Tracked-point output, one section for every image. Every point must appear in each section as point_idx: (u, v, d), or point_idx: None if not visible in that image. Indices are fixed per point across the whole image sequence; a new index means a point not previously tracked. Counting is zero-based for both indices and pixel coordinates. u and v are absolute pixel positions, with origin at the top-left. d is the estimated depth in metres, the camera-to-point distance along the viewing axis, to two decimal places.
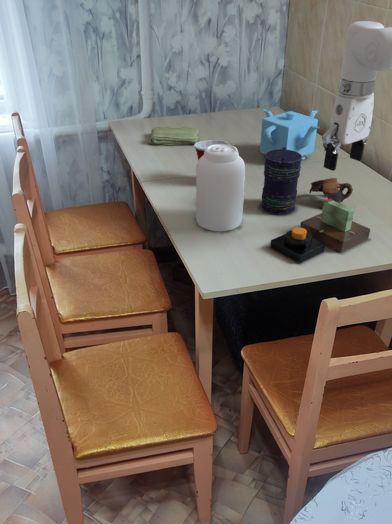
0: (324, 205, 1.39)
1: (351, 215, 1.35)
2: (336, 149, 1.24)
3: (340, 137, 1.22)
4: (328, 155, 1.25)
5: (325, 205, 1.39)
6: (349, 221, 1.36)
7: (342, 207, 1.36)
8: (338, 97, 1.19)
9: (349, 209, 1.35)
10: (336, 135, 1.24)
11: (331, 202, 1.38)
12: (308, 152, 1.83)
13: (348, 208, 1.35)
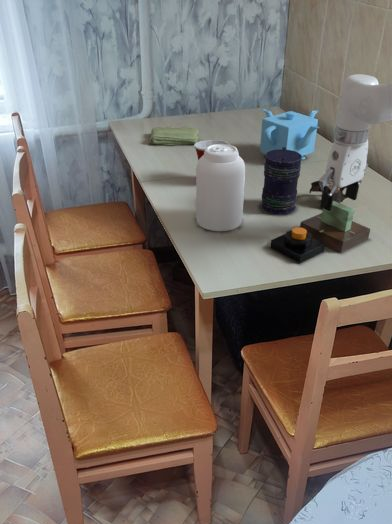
0: None
1: (351, 215, 1.35)
2: (332, 191, 1.30)
3: (336, 181, 1.28)
4: (324, 196, 1.32)
5: None
6: (349, 221, 1.36)
7: (342, 207, 1.36)
8: (334, 144, 1.25)
9: (349, 209, 1.35)
10: (332, 178, 1.31)
11: None
12: (308, 152, 1.83)
13: (348, 208, 1.35)
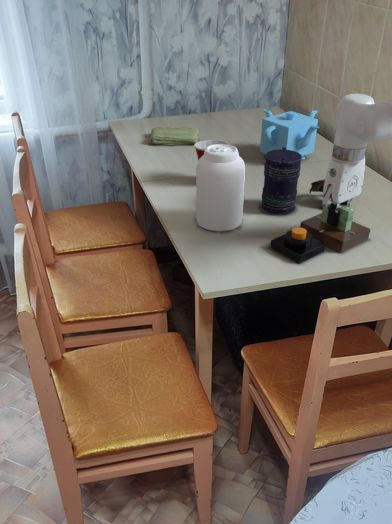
0: None
1: (351, 215, 1.35)
2: (337, 208, 1.35)
3: (334, 197, 1.31)
4: (331, 213, 1.37)
5: None
6: (349, 221, 1.36)
7: (342, 207, 1.36)
8: (332, 161, 1.28)
9: (349, 209, 1.35)
10: None
11: None
12: (308, 152, 1.83)
13: (348, 208, 1.35)
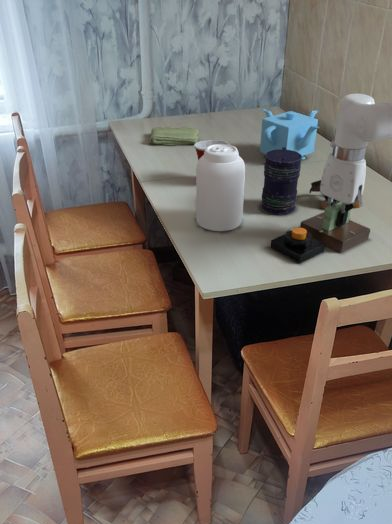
0: None
1: (328, 215, 1.36)
2: (329, 203, 1.37)
3: None
4: None
5: None
6: (327, 220, 1.37)
7: (335, 206, 1.36)
8: None
9: (331, 208, 1.35)
10: None
11: None
12: (308, 152, 1.83)
13: (333, 208, 1.35)
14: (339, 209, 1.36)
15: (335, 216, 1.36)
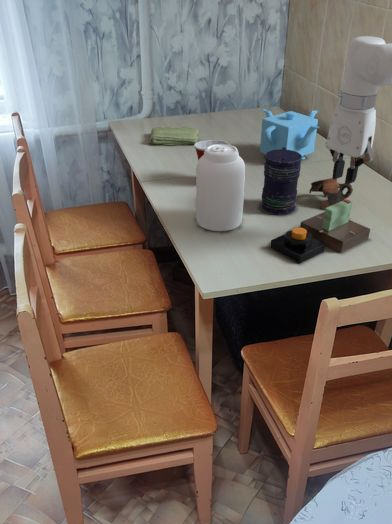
0: None
1: (328, 215, 1.36)
2: (335, 157, 1.30)
3: None
4: None
5: None
6: (327, 220, 1.37)
7: (335, 206, 1.36)
8: None
9: (331, 208, 1.35)
10: None
11: (343, 202, 1.38)
12: (308, 152, 1.83)
13: (333, 208, 1.35)
14: (339, 209, 1.36)
15: (335, 216, 1.36)
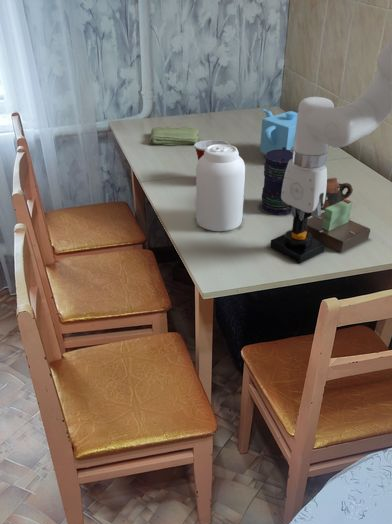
0: None
1: (328, 215, 1.36)
2: (293, 212, 1.30)
3: None
4: None
5: None
6: (327, 220, 1.37)
7: (335, 206, 1.36)
8: None
9: (331, 208, 1.35)
10: None
11: (343, 202, 1.38)
12: None
13: (333, 208, 1.35)
14: (339, 209, 1.36)
15: (335, 216, 1.36)
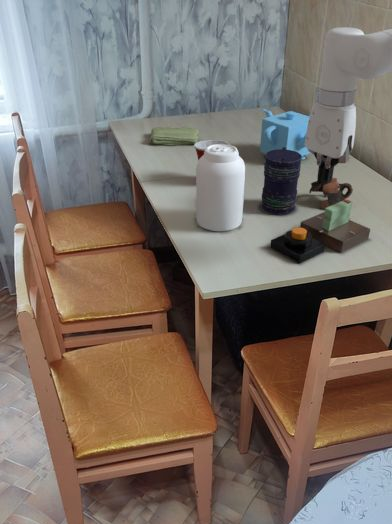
0: None
1: (328, 215, 1.36)
2: (319, 160, 1.21)
3: None
4: None
5: None
6: (327, 220, 1.37)
7: (335, 206, 1.36)
8: None
9: (331, 208, 1.35)
10: None
11: (343, 202, 1.38)
12: (308, 152, 1.83)
13: (333, 208, 1.35)
14: (339, 209, 1.36)
15: (335, 216, 1.36)
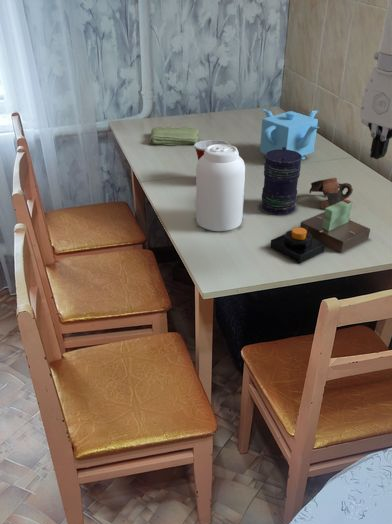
0: None
1: (328, 215, 1.36)
2: (374, 132, 1.14)
3: None
4: None
5: None
6: (327, 220, 1.37)
7: (335, 206, 1.36)
8: None
9: (331, 208, 1.35)
10: None
11: (343, 202, 1.38)
12: (308, 152, 1.83)
13: (333, 208, 1.35)
14: (339, 209, 1.36)
15: (335, 216, 1.36)
